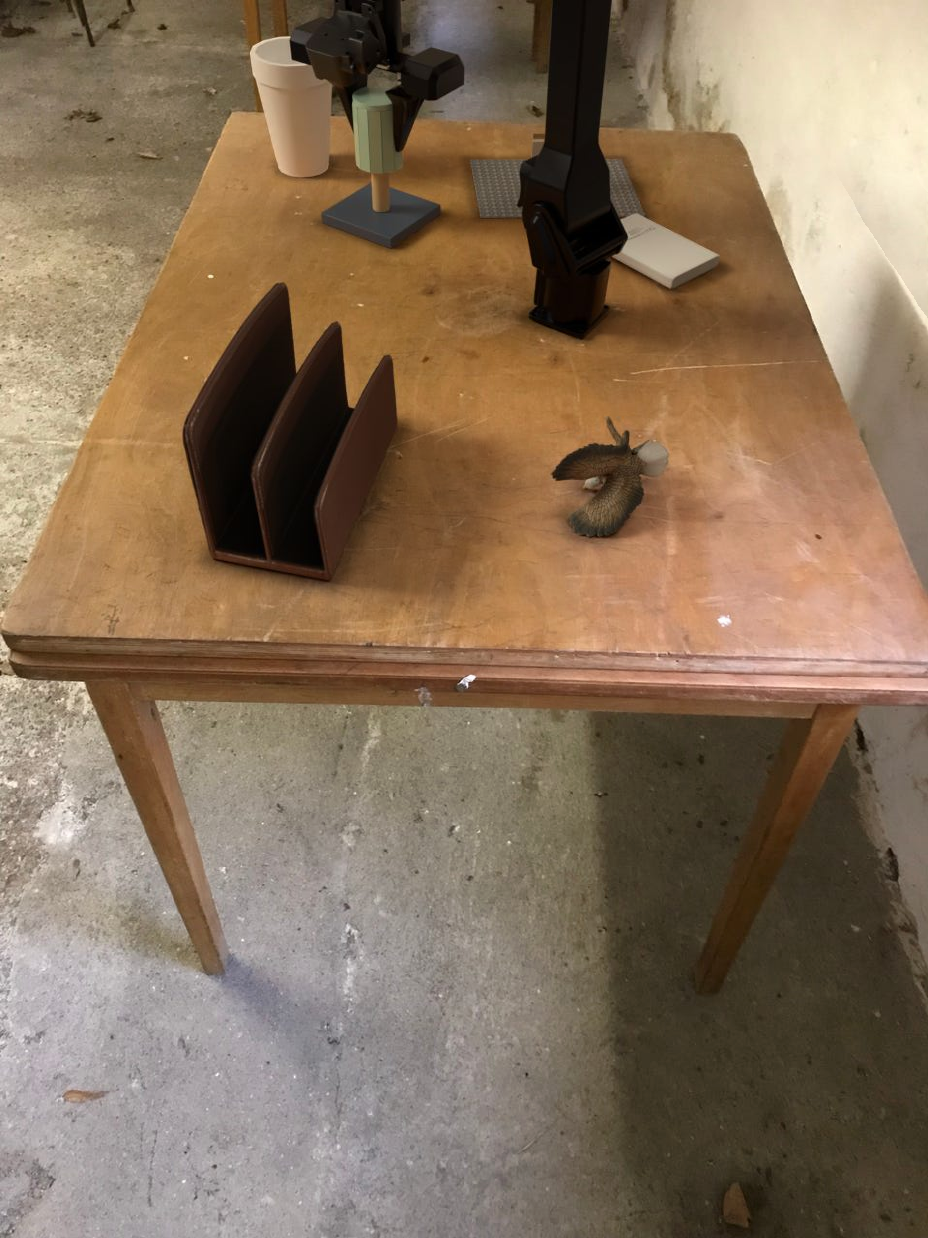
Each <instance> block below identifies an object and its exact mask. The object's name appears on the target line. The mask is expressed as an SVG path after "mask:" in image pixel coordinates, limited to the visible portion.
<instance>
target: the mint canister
mask: <svg viewBox="0 0 928 1238" xmlns="http://www.w3.org/2000/svg"><path fill="white" fill-rule="evenodd" d="M391 88H392V87H388V86H383V85H382V86H381V85H374V86H371V85H370V86H367V87H364V88H361V89H358V90H356V91H355V92H354V93H353V95H352V99H353V102H352V109H353V125H354V134H353V139H354V140H353V141H354V155H355V157H354V158H355V165H356V166H357V167H358V169H359V170H360V171H362V172H366V173H369V174H371V173H375V174H386V173H389V174H390V173H395V172H397V171H399V170H400V169H402V168H403V165H404V149H403V150H402V151H400V152H396V151H395V144H394V134H393V105H392V102H391V101H390V99H389V98H388V97H387V95H386V94H385V91H387V90H389V89H391Z"/></svg>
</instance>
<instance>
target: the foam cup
mask: <svg viewBox="0 0 928 1238" xmlns="http://www.w3.org/2000/svg"><path fill="white" fill-rule="evenodd" d="M290 37H291V35H290V36H276V37H272V38H267V39H263V40H262V41H260V42H258V43H255V44H254V45H252V47H251V49H250V51H249V57H250V64H251V71H252V76H253V77H254V78H255V83H256V86H257V90H258V94H259V98H260V101H261V105H262V109H263V114H264V118H265V121H266V126H267V129H268V133H269V137H270V141H271V145H272V149H273V153H274V156H275V157H274V158H275V161H276V163H277V168H278V169H279V171H280V172H281V174H284V175H286V176H288V177H294V178H314V177H316V176H320V175H323V173H325V172H326V171H328V170H329V165H330V164H329V163H330V162H329V161H330V147H331V146H330V145H331V124H332V123H331V121H332V119H331V118H332V99H333V98H332V96H333V95H332V94H333V93H332V92H333V85H332V84H331V83H330V82H328V81H327V80H325V79H323V80H320V79H317V78H316V77H315V74H314V71H313V68H312V65H307V64H304V63H301V62H297V61H294V60H292V59H291V51H290V42H289V40H290Z"/></svg>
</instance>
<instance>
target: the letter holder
mask: <svg viewBox="0 0 928 1238" xmlns="http://www.w3.org/2000/svg"><path fill="white" fill-rule="evenodd" d="M343 344H344V343H343V328H342V326H341V323H340V322H339V321H338V320H336V321H334V322H332V323H330V325H328V327H327V328H326V329H325V330H324V331H323V332H322V335H320V337H319V338H318V340H316V343H315V344H314V345H313V347H311V350H310V352H309V353H308V354H307V356H306V357H305V359H304V361H303V362H302V364H301V365H300V367H299V368H298V370H297V365H296V356H295V355H296V354H295V342H294V335H293V323H292V312H291V301H290V294H289V288H288V286H287V284H286V283H285V282H284V281H281V282H276V283H275V284H274V285H273V286H272V287H271V288H270V289H269V290H268V292H266V293H265V294H264V295H263V297H261V299H260V300H259V302H258V303H257V304H255V306H254V307H253V308H252V310H251V311H250V313H249V314H248V315H247V317H246V318H244V320H243V322H242V323H241V324H240V326H239V327H238V329H237V330H236V331H235V334H234V335H233V337H232V338H231V339H230V340H229V343H228V344H227V346H226V347H225V349H224V351H223V352H222V354H221V355H220V357H219V358H218V360H217V362H216V363H215V365H214V367H213V368H212V370H211V372H210V374H209V375H208V376H207V378H206V380H205V382H204V383H203V385H202V387H201V389H200V390H199V392H198V394H197V396H196V398H195V400H194V402H193V403H192V405H191V407H190V409H189V411H188V413H187V414H186V417H185V420H184V422H183V426H182V433H181V435H182V436H181V437H182V446H183V449H184V452H185V459H186V462H187V466H188V471H189V476H190V479H191V484H192V487H193V491H194V495H195V499H196V502H197V508H198V512H199V515H200V520H201V524H202V527H203V531H204V534H205V535H204V536H205V539H206V542H207V548H208V549H207V550H208V553H209V555H210V557H211V558H212V559H213V560H214V561H223V562H229V563H235V564H240V565H245V566H249V567H256V568H261V569H267V570H272V571H275V572H276V571H277V572H281V573H288V574H293V575H298V576H304V577H308V578H313V579H319V580H322V581H331V579H332V578H333V575H334V572H335V571H336V568H337V567H338V563H339V561H340V559H341V557H342V554H343V553H344V550H345V547H346V545H347V543H348V541H349V538H350V536H351V534H352V531H353V529H354V526H355V525H356V522H357V521H358V517H359V515H360V513H361V512H362V511H361V510H362V508H363V506H364V504H365V501H366V499H367V497H368V495H369V492H370V491H371V488H372V486H373V483H374V482H375V481H374V480H375V479H376V476H377V473H378V471H379V469H380V468H381V464H382V462H383V460H384V458H385V455H386V452H387V450H388V448H389V445H390V443H391V440H392V438H393V436H394V434H395V431H396V429H397V428H398V426H399V425H398V420H399V419H398V409H397V394H396V385H395V369H394V360H393V357H392V355H391V354H384V355H383V356H382V358H381V359H380V361H379V363H378V364H377V366H376V367H375V369H374V371H373V372H372V374H371V375H370V377H369V379H368V381H367V383H366V385H365V387H364V388H363V389H362V392H361V394H360V396H359V397H358V400H357V402H356V404H355V405H354V407H351V406H349V399H348V392H347V380H346V379H347V378H346V368H345V355H344V345H343Z"/></svg>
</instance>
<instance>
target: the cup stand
mask: <svg viewBox="0 0 928 1238" xmlns="http://www.w3.org/2000/svg"><path fill="white" fill-rule="evenodd" d="M370 176H371V182H369V183H367V184H366V185H364V186H362V187H361V188H359V189H357V190H356V191H355V192H353V193H351V194H349V195H348V196H347V197H345V198H343V199H342V200H340V201H338V202H337V203H335V204H333V205H332V206H330V207H329V208H327V209H325V210H324V211H322V212H320V215H321V223H322V224H325V225H327V226H329V227H332V228H335V229H338V230H340V231H343V232H345V233H349V234H351V235H354V236H356V237H359V238H361V239H364V240H367V241H370V242H372V243H375V244H377V245H381V246H383V247H385V248H389V249H393V248H394V247H396V246H397V245H399V244H400V243H401V242H402V241H404V240H406V239H407V238H409V237H410V236H412V235H413V234H415V233H416V232H417V231H419V230H420V229H422V228H424V226H426V225H427V224H429V223H430V222H432V221H433V220H435V219H436V218H437V217H439V216H440V215H441V214H442V213H441V211H442V210H441V207H442V206H441V204H440V203H437V202H434V201H431V200H428V199H425V198H422V197H419V196H417V195H414V194H411V193H409V192H406V191H403V190H400V189H397V188H395V187H391V186H390V173H386V174H375V173H370Z"/></svg>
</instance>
